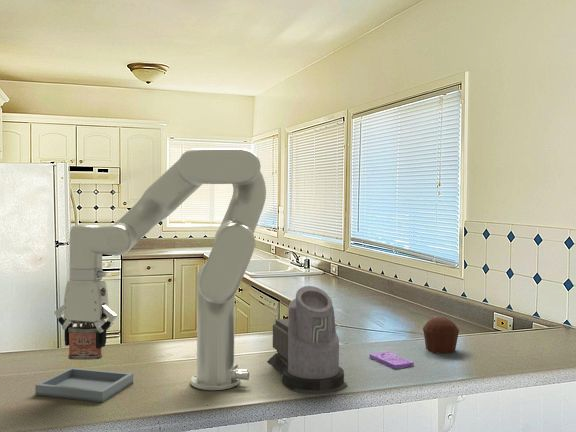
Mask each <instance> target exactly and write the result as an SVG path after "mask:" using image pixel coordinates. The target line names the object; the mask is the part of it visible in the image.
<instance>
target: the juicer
mask: <svg viewBox="0 0 576 432" xmlns="http://www.w3.org/2000/svg"><path fill="white" fill-rule="evenodd" d="M334 309H335V308H334V306H333V301H332V299H331V297H330V296H329V294H328V293H327V292H326V291H324V290H323V289H321V288H319V287H316V286H311V285H307V286H301V287H300V288H299V289H297V291H296V293H295V298H294V299H292V300H291V301H290V303H289V304H288V318H279V319H275V323H274V324H272V348H273V349H275V350H276V353H274V354H273V355H272V356H271V357H270V358H269V359H268V360H267V361H266V362H267V363H268V364H269V365H270V366H271V365H272V366H273V367H274V370H276V371H277V372H278V373H279V374H280V375H281V376H282V379H281V380H282V381H281V382H282V384H283V385H284V386H285V387H286V388H289V389H291V390H295V392H296V393H298V394H305V395H327V394H333V393H337V392H341V391H344V390H345V389H347V388H348V385H347V383H346V382H345V371H344V369H343V368H342V367H340V364H339V363H340V362H339V361H340V358H339V357H340V338H339V336H338V333H337V330H336V319H335V310H334ZM272 366H271V367H272ZM273 367H272V368H273Z"/></svg>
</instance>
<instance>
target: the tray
mask: <svg viewBox="0 0 576 432" xmlns="http://www.w3.org/2000/svg"><path fill="white" fill-rule="evenodd" d="M133 384H134V373H131V372H121V371H111V370H100V369H99V370H98V369H90V368H89V369H88V368H79V367H69V368H68V369H66V370H63V371H61V372H59V373H57V374H55V375H53V376H51V377H49V378H47V379H45V380H42V381H40V382H38V383H37V384H35V386H34V388H35V396H38V397H40V396H41V397H49V398H57V399H67V400H76V401H85V402H95V403H103V404H104V402H106V401H107V400H110V398H112V397H114V396H115V395H117V394H119V393H120V392H122V391H123V390H125V389H127V388H128V387H130V386H131V385H133Z"/></svg>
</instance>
